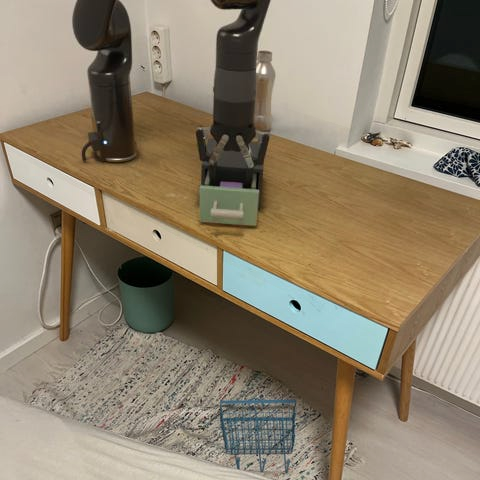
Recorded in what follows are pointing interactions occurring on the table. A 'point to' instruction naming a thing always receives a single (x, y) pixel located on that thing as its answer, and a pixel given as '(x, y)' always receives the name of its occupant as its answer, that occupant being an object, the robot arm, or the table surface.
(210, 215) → the drawer
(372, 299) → the table surface
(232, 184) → the block
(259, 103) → the plastic bottle
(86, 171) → the table surface
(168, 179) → the table surface
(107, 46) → the robot arm
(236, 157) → the cabinet
